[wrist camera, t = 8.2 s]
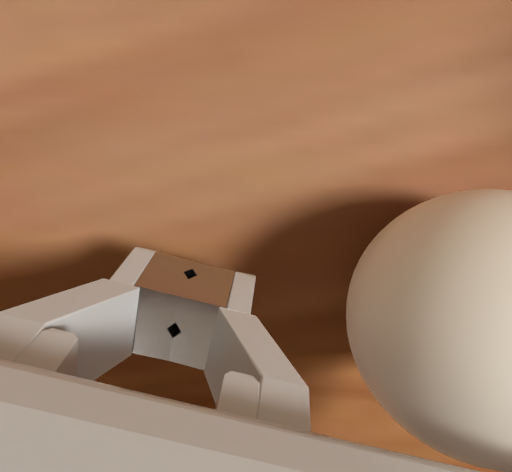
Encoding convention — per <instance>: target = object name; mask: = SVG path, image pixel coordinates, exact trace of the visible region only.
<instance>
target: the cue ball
mask: <svg viewBox="0 0 512 472" xmlns="http://www.w3.org/2000/svg"><path fill="white" fill-rule="evenodd" d="M346 326H347V335H348V340H349V345H350V349H351V352H352V355H353V358H354V361H355V364H356V366H357V368H358V370H359V372H360V375H361V377H362V379H363V380H364V382H365V384H366V385H367V387H368V389H369V390H370V392H371V393H372V395H373V396H374V397H375V399H376V400H377V401H378V403H379V404H380V405H381V406H382V407H383V409H384V410H385V411H386V412H387V413H388V414H389V415H390V416H391V417H392V418H393V419H394V420H395V421H396V422H397V423H398V424H399V425H400V426H402V427H403V428H404V429H405V430H406V431H407V432H409V433H410V434H411V435H413V436H414V437H416V438H417V439H419V440H420V441H421V442H423V443H424V444H426V445H428V446H430V447H431V448H433V449H435V450H437V451H438V452H440V453H443V454H445V455H447V456H449V457H452V458H454V459H456V460H459V461H462V462H465V463H468V464H471V465H474V466H477V467H482V468H487V469H492V470H497V471H505V472H512V190H502V189H474V190H466V191H459V192H454V193H450V194H446V195H442V196H438V197H435V198H433V199H430V200H427V201H425V202H422V203H420V204H418V205H416V206H414V207H412V208H410V209H409V210H407V211H405V212H404V213H402V214H401V215H399V216H398V217H396V218H395V219H394V220H392V221H391V222H390V223H389V224H388V225H387V226H386V227H385V228H383V229H382V230H381V231H380V232H379V233H378V234H377V235H376V237H375V238H374V239H373V240H372V241H371V242H370V244H369V245H368V246H367V248H366V249H365V251H364V253H363V254H362V256H361V257H360V259H359V261H358V263H357V266H356V268H355V270H354V273H353V276H352V279H351V282H350V285H349V291H348V296H347V304H346Z"/></svg>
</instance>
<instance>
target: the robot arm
mask: <svg viewBox="0 0 512 472" xmlns="http://www.w3.org/2000/svg"><path fill="white" fill-rule="evenodd" d="M234 274H235V275H234ZM255 280H256V276H255V275H252V274H247V273H243V272H238V271H236V272H235V271H233V270H229V269H224V268H220V267H215V266H211V265H206V264H202V263H197V262H195V261H191V260H188V259H184V258H180V257H176V256H173V255H169V254H165V253H161V252H157V251H155V250H151V249H146V248H142V247H135V248H134V249H133V250H132V251H131V252H130V254H129V255H128V256H127V257H126V259H125V260H124V261H123V263H122V264H121V265H120V266H119V268H118V269H117V270H116V271H115V273H114V274H113V275H112V277H111V278H110V279H109V280H108V279H99V280H96V281H93V282H90V283H87V284H84V285H81V286H78V287H75V288H72V289H68V290H65V291H62V292H59V293H56V294H53V295H50V296H47V297H44V298H41V299H37V300H34V301H31V302H28V303H25V304H22V305H19V306H16V307H13V308H10V309H6V310H3V311H0V472H479V471H475V470H471V469H467V468H462V467H458V466H454V465H450V464H445V463H441V462H437V461H432V460H428V459H424V458H420V457H415V456H411V455H407V454H403V453H398V452H394V451H390V450H386V449H381V448H377V447H373V446H369V445H364V444H360V443H356V442H352V441H347V440H343V439H339V438H334V437H330V436H326V435H322V434H317V433H313V432H311V420H310V401H309V388H308V386H307V385H306V383H305V382H304V381H303V379H302V378H301V377H300V375H299V374H298V372H297V371H296V370H295V368H294V367H293V366H292V364H291V363H290V361H289V360H288V359H287V357H286V356H285V355H284V353H283V352H282V350H281V349H280V348H279V346H278V345H277V344H276V342H275V341H274V339H273V338H272V337H271V335H270V334H269V333H268V331H267V330H266V329H265V327H264V326H263V324H262V323H261V322H260V320H259V319H258V318H257V316H255V315H251V308H252V301H253V294H254V287H255ZM229 294H230V295H229ZM132 353H134V354H139V355H143V356H148V357H153V358H158V359H162V360H167V361H171V362H175V363H179V364H182V365H186V366H190V367H194V368H197V369H201V370H204V374H205V377H206V379H207V382H208V385H209V388H210V390H211V393H212V396H213V398H214V401H215V404H216V407H215V409H211V408H207V407H202V406H198V405H194V404H190V403H185V402H181V401H177V400H173V399H168V398H164V397H160V396H156V395H151V394H147V393H143V392H138V391H134V390H130V389H126V388H121V387H117V386H113V385H109V384H105V383H100V382H96V381H94V380H95V379H97V378H98V377H100V376H101V375H103V374H104V373H106V372H107V371H109V370H110V369H112V368H113V367H115V366H116V365H117V364H119V363H120V362H122V361H123V360H125V359H126V358H128V357H129V356H131V354H132Z"/></svg>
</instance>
